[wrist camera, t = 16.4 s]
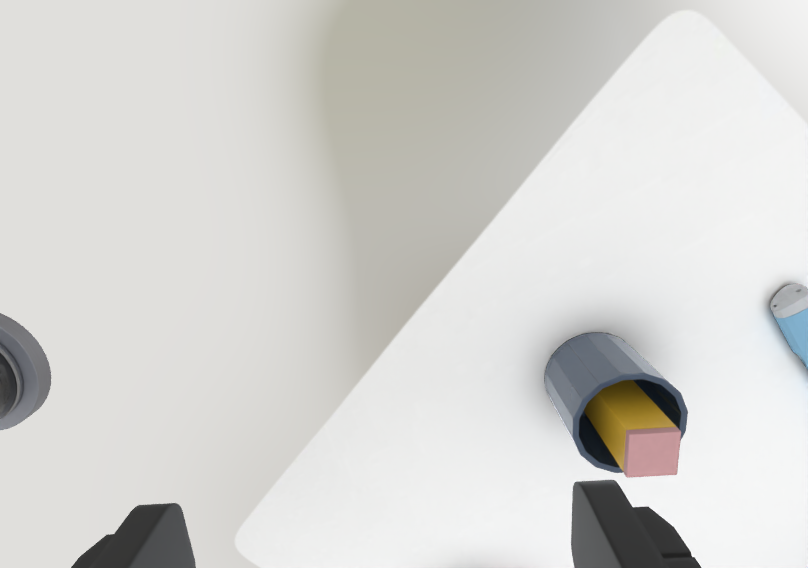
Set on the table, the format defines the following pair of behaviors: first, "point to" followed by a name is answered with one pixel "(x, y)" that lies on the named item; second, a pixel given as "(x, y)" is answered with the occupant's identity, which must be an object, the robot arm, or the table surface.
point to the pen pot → (591, 372)
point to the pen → (793, 317)
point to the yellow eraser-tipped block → (635, 430)
